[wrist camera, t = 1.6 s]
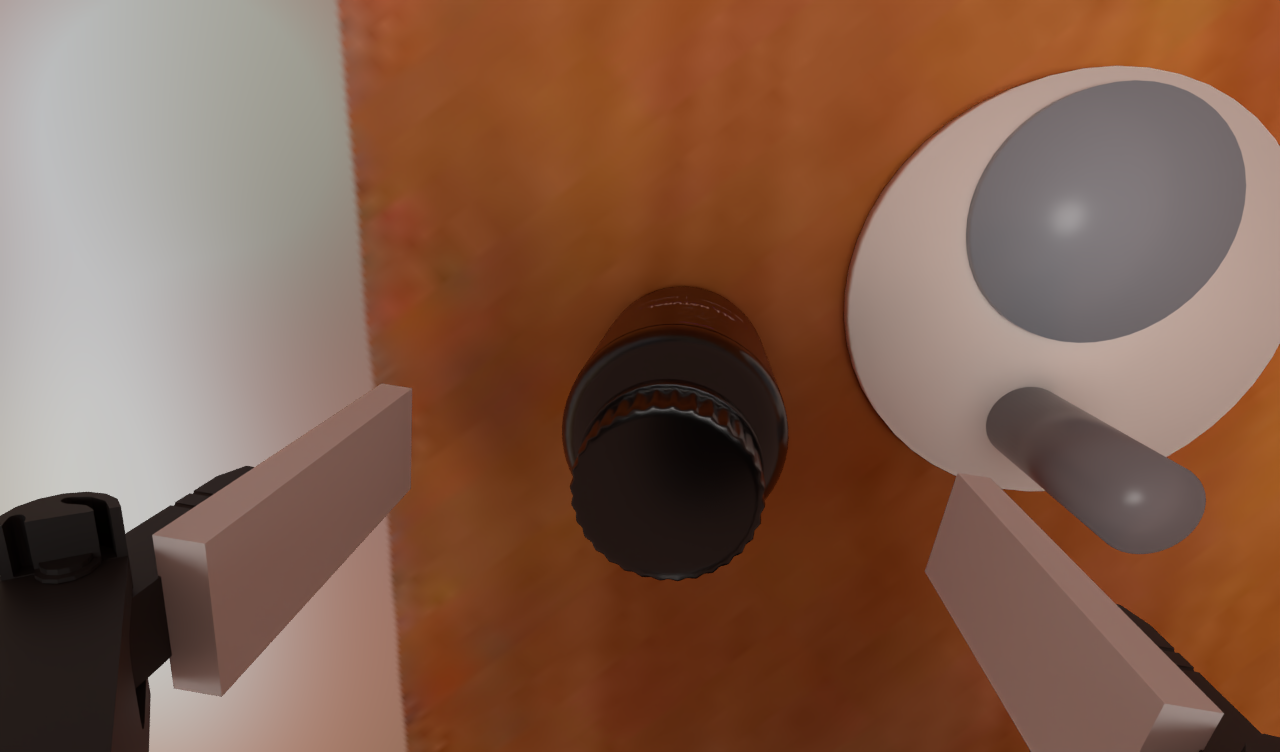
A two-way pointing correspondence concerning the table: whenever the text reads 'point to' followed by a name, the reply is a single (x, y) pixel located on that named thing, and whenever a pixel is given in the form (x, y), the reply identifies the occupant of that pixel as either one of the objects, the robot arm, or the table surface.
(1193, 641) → the table surface
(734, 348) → the supplement bottle
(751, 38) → the table surface
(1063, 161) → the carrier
